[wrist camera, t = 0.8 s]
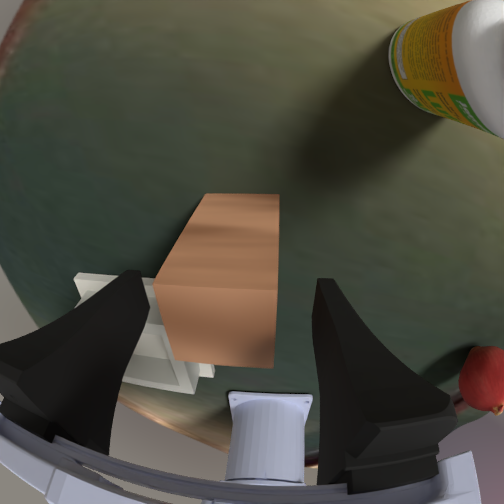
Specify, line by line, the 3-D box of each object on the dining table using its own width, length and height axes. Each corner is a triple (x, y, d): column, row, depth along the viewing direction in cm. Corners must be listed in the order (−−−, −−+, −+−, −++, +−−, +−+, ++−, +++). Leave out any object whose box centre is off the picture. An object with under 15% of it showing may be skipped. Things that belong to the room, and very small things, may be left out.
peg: (277, 257, 18) (273, 368, 11) (211, 255, 18) (175, 359, 11) (279, 194, 16) (277, 290, 9) (205, 193, 16) (152, 283, 9)
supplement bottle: (381, 100, 12) (511, 139, 4) (387, 7, 9) (505, -49, 1) (463, 125, 12) (593, 190, 4) (471, 40, 9) (603, 48, 1)
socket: (214, 370, 24) (208, 401, 22) (115, 355, 25) (103, 382, 22) (199, 281, 19) (186, 316, 16) (78, 272, 20) (56, 299, 17)
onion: (503, 336, 20) (532, 396, 14) (465, 371, 23) (486, 431, 17) (482, 321, 19) (517, 391, 13) (439, 361, 22) (462, 431, 16)
